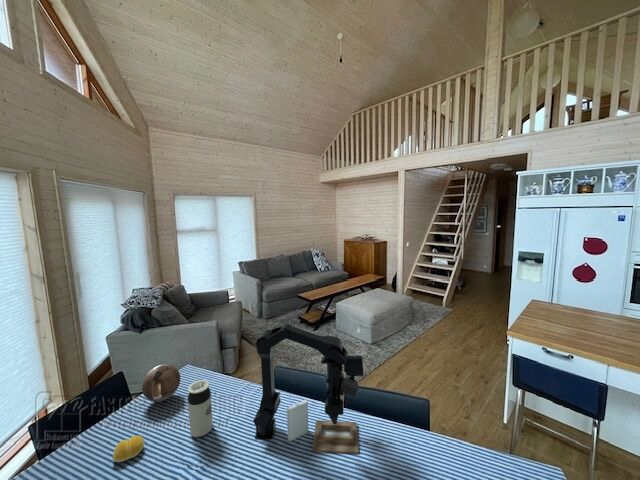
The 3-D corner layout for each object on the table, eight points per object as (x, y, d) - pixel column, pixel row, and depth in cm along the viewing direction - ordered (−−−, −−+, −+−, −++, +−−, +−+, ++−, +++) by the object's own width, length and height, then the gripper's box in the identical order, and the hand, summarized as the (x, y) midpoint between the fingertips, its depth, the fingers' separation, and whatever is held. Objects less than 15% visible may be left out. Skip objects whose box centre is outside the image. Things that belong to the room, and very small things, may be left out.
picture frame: (312, 452, 91) (312, 444, 91) (316, 422, 104) (315, 415, 104) (358, 454, 90) (358, 446, 90) (356, 424, 103) (356, 417, 102)
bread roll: (144, 453, 91) (142, 443, 91) (112, 467, 87) (110, 457, 86) (145, 436, 98) (144, 426, 98) (115, 448, 94) (114, 438, 93)
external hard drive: (308, 432, 100) (308, 401, 98) (289, 442, 96) (288, 410, 94) (306, 429, 101) (306, 399, 100) (287, 438, 97) (286, 407, 96)
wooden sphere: (159, 386, 129) (156, 357, 127) (188, 387, 127) (186, 358, 126) (135, 408, 114) (132, 376, 112) (167, 410, 112) (164, 377, 111)
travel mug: (185, 434, 100) (182, 390, 98) (202, 419, 107) (199, 377, 106) (201, 440, 97) (198, 395, 95) (217, 424, 104) (214, 382, 103)
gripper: (358, 391, 85) (358, 436, 86) (355, 360, 103) (356, 397, 105) (324, 390, 86) (325, 434, 87) (327, 359, 104) (328, 395, 106)
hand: (335, 413), depth 96 cm, fingers open, 9 cm apart
